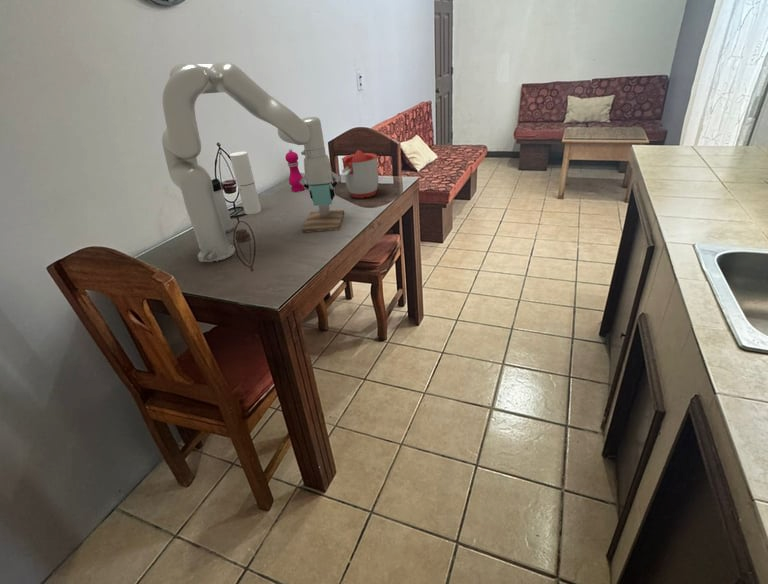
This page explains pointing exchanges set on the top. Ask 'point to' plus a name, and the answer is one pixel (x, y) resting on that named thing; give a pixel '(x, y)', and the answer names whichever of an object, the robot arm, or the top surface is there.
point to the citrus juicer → (361, 174)
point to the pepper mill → (294, 171)
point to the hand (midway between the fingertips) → (323, 198)
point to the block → (324, 210)
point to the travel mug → (222, 205)
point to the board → (323, 221)
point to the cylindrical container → (245, 182)
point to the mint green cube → (321, 194)
